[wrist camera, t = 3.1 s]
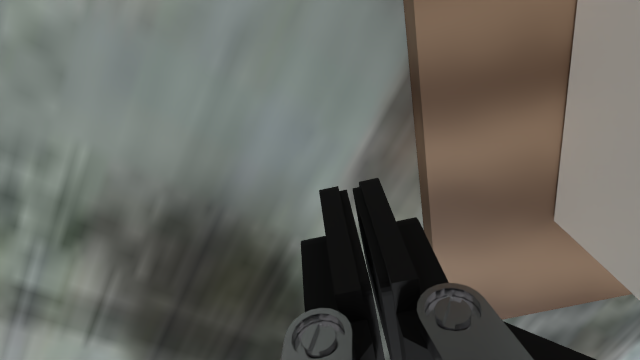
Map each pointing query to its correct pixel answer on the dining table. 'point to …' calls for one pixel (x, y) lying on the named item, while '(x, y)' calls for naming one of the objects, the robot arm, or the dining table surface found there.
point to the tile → (604, 138)
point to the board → (498, 150)
